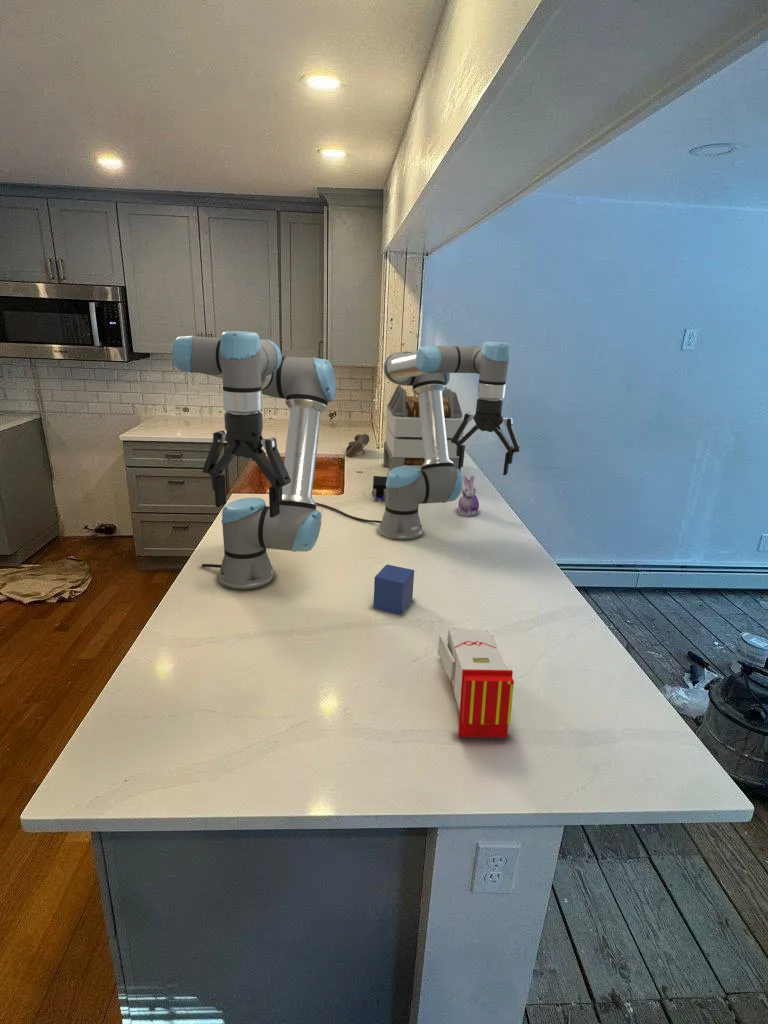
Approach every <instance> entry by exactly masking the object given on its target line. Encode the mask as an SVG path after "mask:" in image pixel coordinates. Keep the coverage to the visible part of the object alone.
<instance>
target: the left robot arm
mask: <svg viewBox="0 0 768 1024" xmlns="http://www.w3.org/2000/svg"><path fill="white" fill-rule="evenodd" d="M171 354H172V355H171V356H172V361H173V364H174V366H175V367H176V368H177V370H178V371H181V372H185V373H190V374H193V373H195V374H198V373H199V374H204V375H208V376H211V377H216V378H219V379H222V397H223V398H222V399H223V400H222V401H223V410H224V411H225V412H224V415H223V418H224V430H225V431H226V432H225V431H224V430H219V431H215V432H213V433H212V444H211V446H210V449H209V451H208V454H207V457H206V459H205V462H204V465H203V467H202V472H203V473H204V474H207V475H209V477H210V479H211V489H212V492H213V491H214V500H215V508H220V507H222V506H223V507H222V512H221V513H222V514H221V524H222V541H223V557H222V561H221V564H218V563H217V564H216V563H202V564H201V567H202V568H218V569H219V571H218V581H219V583H220V584H221V585H222V586H223V587H224V588H228V589H231V590H236V591H237V590H238V591H249V590H255V589H259V588H263V587H265V586H267V585H269V584H270V583H271V582H272V581H273V580H274V577H275V573H274V572H275V570H274V567H273V566H272V563H271V560H270V557H269V554H268V552H267V549H268V550H277V551H278V550H280V551H289V552H293V553H296V552H301V553H302V552H303V553H306V552H309V551H311V550H312V549H313V548H314V547H315V546H316V544H317V542H318V539H319V535H320V532H321V526H322V513H321V511H320V510H318V509H317V505H316V503H317V502H316V501H314V499H313V488H314V482H315V481H314V480H315V473H316V472H315V471H316V463H317V453H318V444H319V437H320V436H319V435H320V427H321V426H320V425H321V418H322V414H323V413H324V412H325V411H327V410H328V403H332V402H334V401H335V397H336V378H335V372H334V367H333V366H332V363H331V362H330V361H329V360H328V359H325V358H317V357H314V356H313V357H303V356H283V355H282V351H281V349H280V347H279V346H278V345H277V344H276V343H275V342H274V341H272V340H270V339H266V338H261V337H260V335H259V334H258V333H257V332H256V331H255V332H254V331H244V330H243V331H242V330H241V331H240V330H228V331H227V330H226V331H223V332H222V333H221V334H220V337H208V336H207V337H206V336H194V335H185V336H184V335H183V336H182V335H181V336H177V338H175V340H174V342H173V344H172V353H171ZM263 395H265V396H268V397H270V398H276V399H283V400H284V399H285V405H286V406H287V407H288V409H289V417H288V418H289V419H288V427H287V435H286V443H285V452H284V461H283V458H282V456H281V454H280V452H279V451H280V450H279V449H278V444H277V438H276V437H269V438H264V437H263V434H262V433H263V429H264V426H263V425H264V424H263V422H264V421H263V419H264V418H263V413H262V412H261V410H262V409H263V398H262V396H263ZM225 443H227V445H228V447H227V448H226V449H225V451H224V453H223V455H222V456H221V453H222V450H223V448H224V446H225ZM262 447H263V448H262ZM220 456H221V457H220ZM234 457H238V458H239V457H243V458H246V459H250V458H251V460H252V461H253V462H255V464H256V465H257V466H258V467H259V469H260V470H261V472H262V473H263V475H264V476H265V478H266V479H267V480H268V482H269V483H270V485H271V486H269V487H268V505H267V503H266V501H265V499H263V498H261V497H243V498H239V499H235V500H233V501H230V502H228V503H227V491H226V475H224V474H223V473H224V471H225V469H226V468H227V467H228V465H229V464H230V463H231V462H232V460H233V459H234ZM219 458H220V459H219ZM315 502H316V503H315Z"/></svg>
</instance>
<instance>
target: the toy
mask: <svg viewBox="0 0 768 1024" xmlns="http://www.w3.org/2000/svg"><path fill="white" fill-rule="evenodd" d="M446 640H447V643H446V641H445V639H444V636H443V635H442V634H439V637H438V646H437V656H438V657H439V659H440V661H441V663H442V666H443V668H444V670H445V672H446V674H447V677H448V679H449V681H450V684H451V687H452V690H453V693H454V697H455V701H456V705H457V708H458V711H459V714H458V715H459V716H458V730H457V731H458V732H457V737H458V738H508V731H509V726H510V725H511V717H512V707H513V697H514V696H513V695H514V684H515V680H514V679H513V673H514V671H513V670H512V669H508V667H507V665H506V662H505V661H504V659H503V658H502V655H501V653H500V651H499V649H498V647H497V643H496V639H495V637H494V635H493V634H491V632H490V631H489V629H467V628H466V629H465V628H463V629H461V628H460V629H459V628H448V630H447V639H446Z"/></svg>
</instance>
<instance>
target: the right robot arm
mask: <svg viewBox="0 0 768 1024" xmlns="http://www.w3.org/2000/svg"><path fill="white" fill-rule="evenodd" d="M509 361H510V345H509V344H508V343H507V342H502V341H501V342H500V341H484V342H483V344H482V346H479V345H468V346H466V345H465V346H464V345H463V346H462V345H460V346H459V345H457V346H456V345H451V346H450V345H434V344H429V345H421V346H420V347H419V348H418V350H415V351H399V352H394V353H392V354H390V355H388V357H387V358H386V359H385V361H384V363H383V372H384V376H385V377H386V378H387V380H388V381H390V382H391V383H393V384H395V385H397V386H398V385H400V386H403V387H404V386H407V387H408V386H409V387H410V386H411V387H412V393H413V394H414V395H416V397H417V396H418V402H419V411H420V421H421V430H422V440H423V449H424V459H425V462H424V463H423V465H422V466H407V465H404V466H400V467H396V468H393V469H392V470H390V469H389V470H388V472H387V475H386V477H387V482H386V497H385V504H384V505H385V507H384V508H385V509H384V513H383V515H382V519H381V520H377V519H376V520H375V519H373V520H372V519H365V518H361V517H357V516H354V515H350V514H348V513H346V512H343V511H341V510H340V509H337V508H334V507H332V506H330V505H327V504H323V503H319V502H316V501H314V502H315V503H316V506H319V507H320V506H321V507H323V508H327V509H330V510H332V511H335V512H337V513H339V514H341V515H343V516H345V517H348V518H349V519H350V518H351V519H353V520H357V521H361V522H366V523H377V524H379V526H378V533H379V534H380V535H381V536H382V537H385V538H387V539H389V540H395V541H410V540H415V539H418V538H420V537H421V536H422V535H423V525H422V524H421V518H420V515H419V507H420V505H424V504H426V505H427V504H439V503H440V504H441V503H442V504H445V503H449V502H450V503H451V502H454V501H456V500H457V499H458V498H459V496H460V494H461V493H462V488H463V476H462V473H460V471H459V470H458V469H456V468H454V463H453V462H452V461H451V460H450V459H449V456H448V446H447V437H446V428H445V419H444V410H443V400H442V392H443V391H444V390H445V387H446V386H447V385H448V384H449V382H450V379H451V376H450V375H451V374H477V375H479V377H478V388H477V394H476V395H477V397H478V398H477V399H476V405H475V413H473V414H472V413H471V412H466V413H465V414H464V416H463V419H464V420H463V422H462V424H461V425H460V427H459V429H458V430H457V432H456V433H455V435H454V437H453V438H452V440H451V442H452V443H454V444H456V445H457V451H456V455H457V456H459V464H458V468H461V469H462V468H463V467H464V463H465V451H466V450H465V449H466V445H465V444H464V443H465V442H467V440H468V439H470V437H472V436H473V435H474V434H475V433H476V432H477V431H478V430H480V432H488V433H492V432H494V433H495V435H497V437H498V439H499V440H500V441H501V443H502V444H503V446H504V447H505V449H506V450H507V451H506V452H505V456H504V465H503V473H502V475H503V476H507V475H508V473H509V466H510V465H511V464H512V463H513V462H514V461H513V460H514V455H515V453H519V452H520V451H521V449H522V447H521V443H520V441H519V438H518V436H517V433H516V430H515V427H514V418H513V417H511V416H510V417H506V418H505V417H503V411H504V398H505V394H506V386H507V385H506V383H507V376H508V369H509ZM472 420H473V421H474V422H475V425H474V426H473V427H472V428H471V429H470V430H469V431H468V432H467V433H465V435H463V438H460V439H461V440H458V439H459V437H460V435H461V434H462V432H463V430H464V431H465V429H466V428H467V426H468V424H469V422H471V421H472ZM502 424H504V426H505V427H506V429H507V431H508V436H509V438H510V440H511V442H510V440H509V439H508V436H507V435H506V433H504V431H503V429H502V427H501V425H502ZM463 433H464V432H463Z"/></svg>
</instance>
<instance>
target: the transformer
mask: <svg viewBox="0 0 768 1024" xmlns="http://www.w3.org/2000/svg"><path fill="white" fill-rule="evenodd" d="M407 394H408V393H407V390H406V389H404V388H403V387H402V385H398V384H397V386H396V388H395V390H394V392H393V394H392V395H391V398H390V400H389V402H388V404H387V405H386V413H385V414H386V415H385V423H386V428H385V438H384V442H383V466H384V467H388V468H389V471H390V470H392V469H393V468H396V467H400V466H416V467H421V466H422V465H423V463H424V462H425V459H424V449H423V440H422V430H421V421H420V411H419V402H418V396H417V395H416V396H415V395H414V396H413V395H412V396H411V395H407ZM442 400H443V410H444V419H445V428H446V437H447V446H448V456H449V459H450V460H451V461H452V462H453V463H454V468H456V469H458V470H459V471H460V473H461V472H462V468H458V464H459V456H457V455H456V451H457V445H456V444H454V443H452V442H451V440H452V438H453V437H454V435H455V433H456V432H457V430H458V429H459V427H460V425H461V424H462V422H463V420H464V418H463V411H462V408H461V405H460V402H459V398H458V395H457V392H455V391H453V390H452V389H451V388H447V386H445V390H444V391H443V392H442ZM464 431H465V429H464V430H463V432H462V434H461V435H460V437H459V439H458V440H461V439H462V438H463V437H464ZM461 474H462V473H461Z"/></svg>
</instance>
